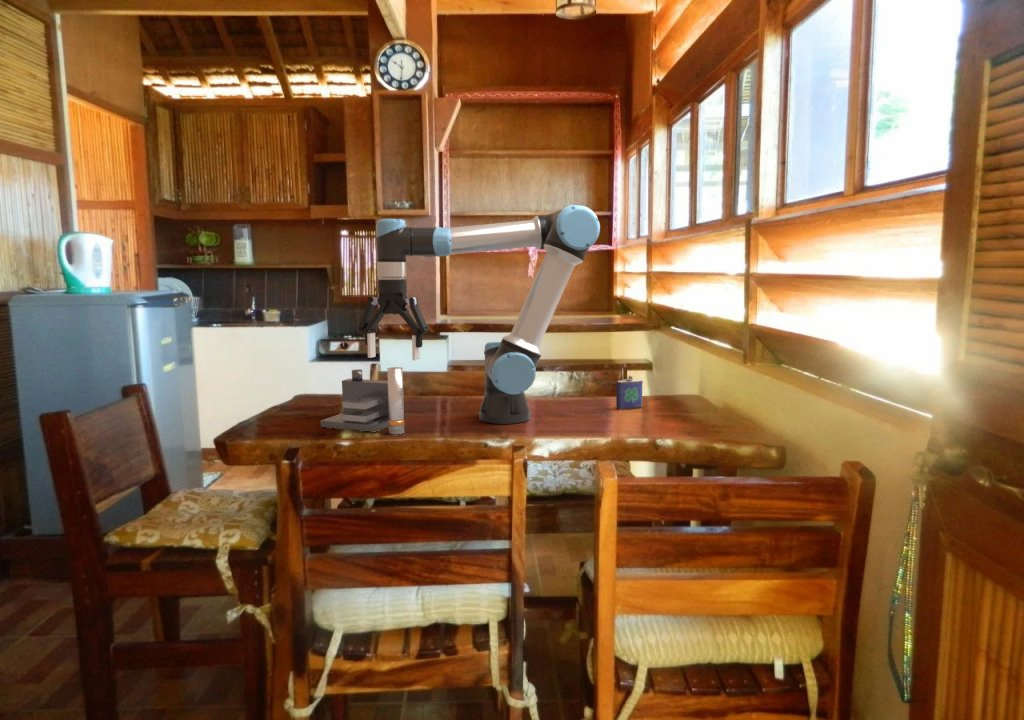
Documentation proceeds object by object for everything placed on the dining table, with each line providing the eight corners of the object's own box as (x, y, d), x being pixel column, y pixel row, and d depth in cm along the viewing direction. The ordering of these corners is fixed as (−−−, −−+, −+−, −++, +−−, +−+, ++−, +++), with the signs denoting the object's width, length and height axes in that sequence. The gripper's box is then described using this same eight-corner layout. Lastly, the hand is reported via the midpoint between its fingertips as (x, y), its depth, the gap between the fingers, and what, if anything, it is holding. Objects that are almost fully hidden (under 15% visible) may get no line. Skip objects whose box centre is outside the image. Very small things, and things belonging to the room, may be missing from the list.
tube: (407, 432, 187) (405, 367, 184) (399, 436, 183) (397, 369, 181) (394, 431, 188) (392, 366, 186) (386, 434, 184) (384, 368, 182)
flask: (639, 406, 220) (640, 373, 219) (644, 408, 217) (645, 375, 216) (614, 408, 217) (615, 375, 215) (619, 410, 214) (619, 376, 212)
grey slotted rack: (401, 421, 200) (400, 371, 198) (375, 432, 187) (374, 378, 185) (349, 417, 206) (347, 368, 204) (320, 427, 193) (318, 375, 191)
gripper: (441, 278, 179) (441, 359, 182) (359, 278, 188) (361, 354, 191) (427, 279, 172) (428, 362, 175) (343, 278, 181) (346, 357, 184)
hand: (393, 358), depth 183 cm, fingers open, 13 cm apart
